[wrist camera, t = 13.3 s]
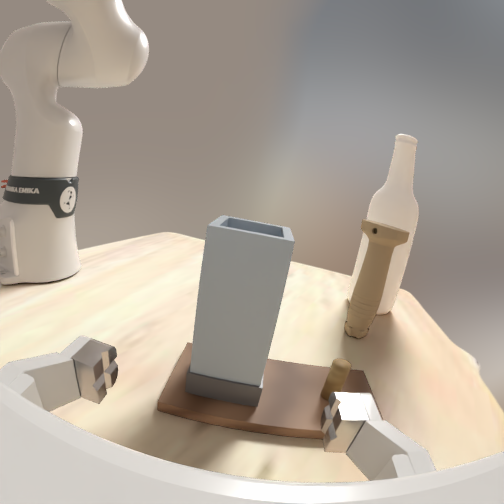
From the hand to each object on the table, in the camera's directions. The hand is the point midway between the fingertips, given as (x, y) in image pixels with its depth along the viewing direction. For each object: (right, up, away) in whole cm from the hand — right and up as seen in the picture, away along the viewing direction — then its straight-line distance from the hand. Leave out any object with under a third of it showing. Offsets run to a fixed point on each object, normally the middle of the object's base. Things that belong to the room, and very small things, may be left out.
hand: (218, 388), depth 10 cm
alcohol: (+22, -5, +39) cm, 45 cm away
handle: (+15, -6, +28) cm, 32 cm away
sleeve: (-1, -6, +13) cm, 14 cm away
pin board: (+3, -8, +13) cm, 16 cm away
